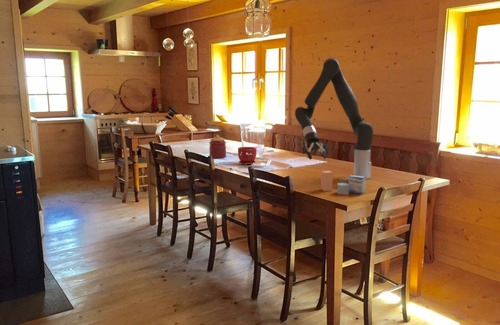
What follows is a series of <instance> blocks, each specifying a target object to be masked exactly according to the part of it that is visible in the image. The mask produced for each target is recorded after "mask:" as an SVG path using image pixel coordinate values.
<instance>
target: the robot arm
mask: <svg viewBox="0 0 500 325" xmlns="http://www.w3.org/2000/svg"><path fill="white" fill-rule="evenodd" d="M322 65H323V66H322V70H321V73H320V75H319V77H318V79H317V81H316V82H315V83H314V85H313V86H312V87H311V89H310V90H309V93H308V94H307V95H306V97H305V99H304V104H305V105H306V108H305V107H303V106H298V107H297V108H296V109H295V112H294V116H295V119H296V121H297V122H298V123H299V125H300V126H301V129H302V134H303V138H304V140H305V142H302V144H301V148H302V152H303V154H306V155H307V158H308V159H309V160H312V158H313V155H312V153H311V151H313V152H315V151H316V152H317V151H318V152H319V153H321V155H322V158H323V159H324V160H326V158H327V156H328V155H327V154H328V152H329V148H328V146H327V143H326V141H323V142H320V139H319V135H318V133H317V130H316V128H315V125H314V123H313V121H312V117H313V116H314V111H315V108H316V105H317V104H318V103H319V101H320V99H321V97H322V95H323V93H324V91H325V90H326V88H327V86H328V85H329V84H330V82H331V83H332V85H333V88H334V91H335V95H336V97H337V99H338V102H339V103H340V105H341V107H342V109H343V111H344V113H345V115H346V117H347V118H348V120H349V123H350V126H351V128H352V132H353V133H354V135H355V136H356V137H357V141H356V143H355V144H354V153H353V154H354V157H353V158H354V159H353V161H354V162H353V175H356V176H364V177H366V180H368V179H371V178H372V162H371V152H372V150H371V148H372V145H373V138H374V128H373V126H372V125H371V123H369V122H365V121H364V119H363V117H362V115H361V113H360V110H359V103H358V99H357V97H356V96H355V93H354V92H353V90H352V88H351V85H350V84H349V83H348V82H347V80H346V79H345V77H344V74H343V72H342V69H341V67H340V66H341V65H340V63H339V61H338V59H336V58H333V57H329V58H327V59H326V60H325V61H324V62H323V64H322Z"/></svg>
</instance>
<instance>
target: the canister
mask: <svg viewBox="0 0 500 325" xmlns="http://www.w3.org/2000/svg"><path fill="white" fill-rule="evenodd" d="M225 140H226V138H224V137H222V136H221V137H220V135H219V134H217V135H215V136H214V137H211V138H210V140H209V142H208V143H209V157H210V156H212V157H213V158H212V159H216V160H217V159H218V160H220V159H226V158H227V146H226V143H227V141H225Z"/></svg>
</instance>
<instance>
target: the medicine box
mask: <svg viewBox="0 0 500 325" xmlns="http://www.w3.org/2000/svg"><path fill="white" fill-rule="evenodd" d="M348 177H349V193H350V192H351V193H350V194H359V195H363V194H366V184H367V179H366V177H364V176H356V175H354V174H351V175H349V176H348Z"/></svg>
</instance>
